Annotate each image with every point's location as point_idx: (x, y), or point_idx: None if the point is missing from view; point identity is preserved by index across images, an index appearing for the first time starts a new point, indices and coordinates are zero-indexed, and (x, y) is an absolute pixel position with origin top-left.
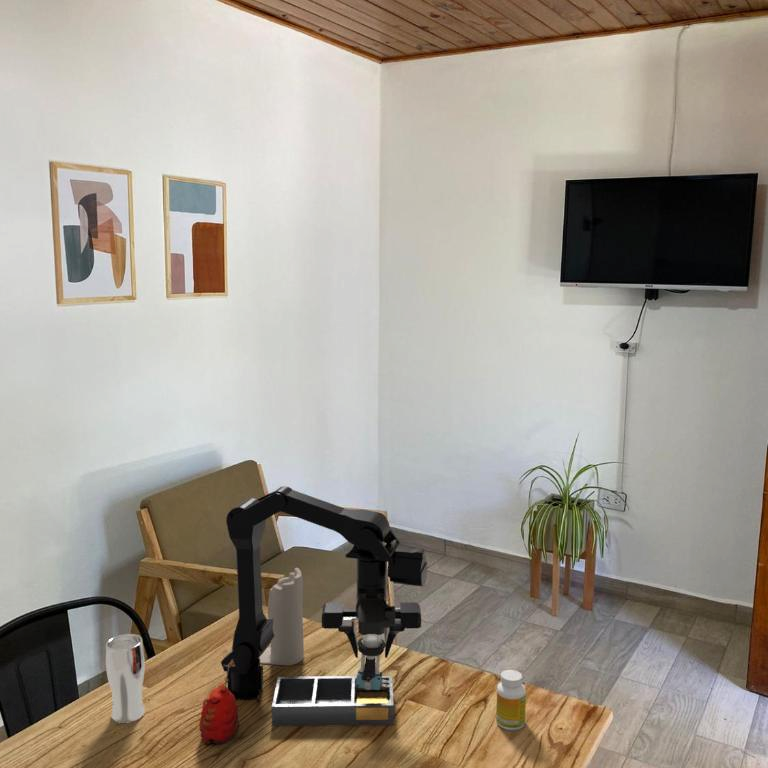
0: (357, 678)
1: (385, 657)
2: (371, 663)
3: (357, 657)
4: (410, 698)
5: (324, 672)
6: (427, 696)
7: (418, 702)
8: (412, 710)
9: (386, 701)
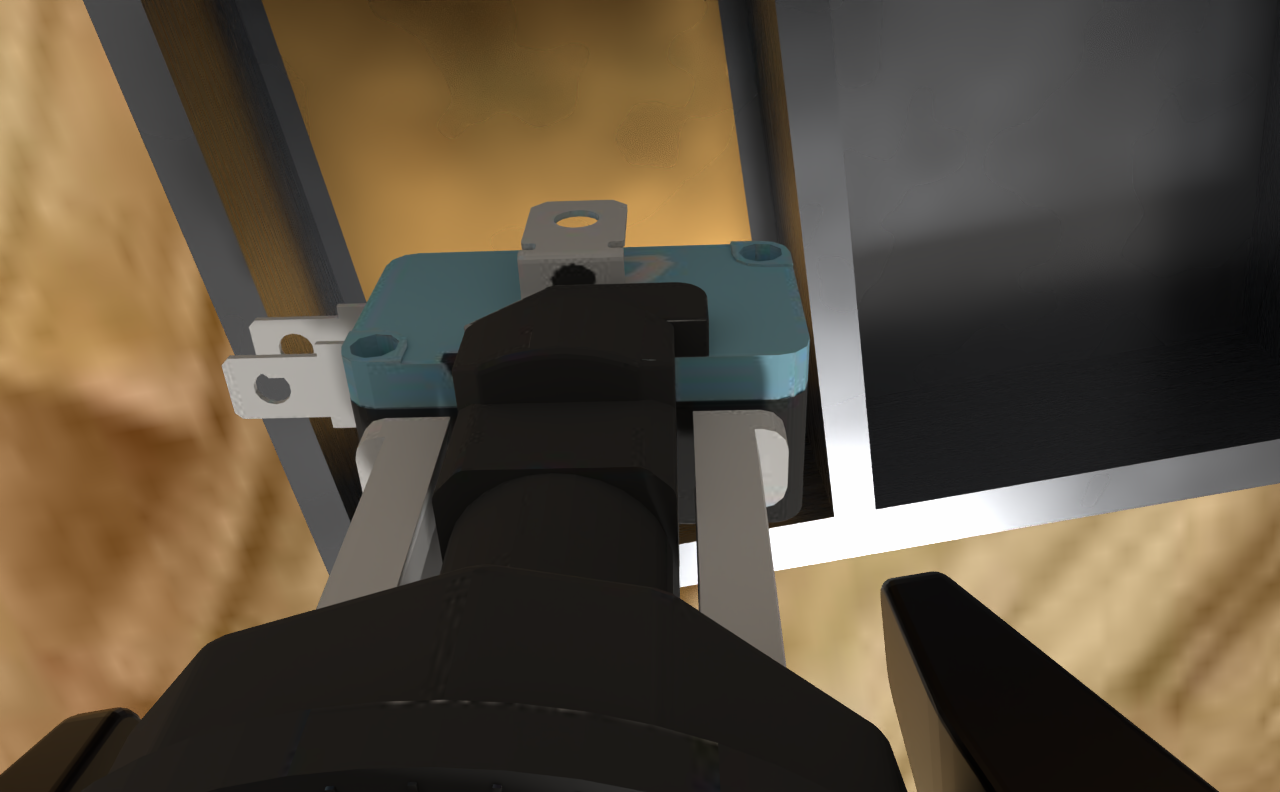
0: (787, 317)
1: (109, 710)
2: (498, 525)
3: (890, 581)
4: (173, 453)
5: (1139, 694)
6: (8, 515)
7: (56, 399)
8: (57, 239)
9: (372, 279)
